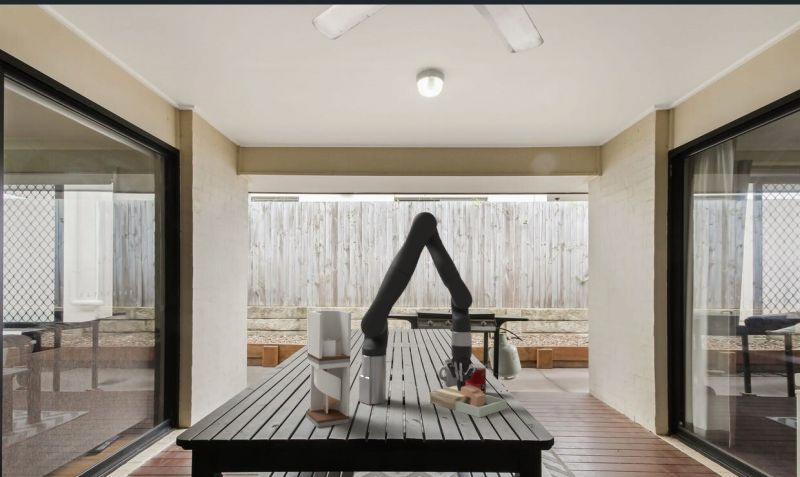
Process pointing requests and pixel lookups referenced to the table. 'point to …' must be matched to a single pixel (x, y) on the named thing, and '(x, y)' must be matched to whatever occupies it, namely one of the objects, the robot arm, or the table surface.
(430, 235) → the robot arm
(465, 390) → the tile back
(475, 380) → the canned food
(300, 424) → the table surface
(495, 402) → the tray
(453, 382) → the coffee mug
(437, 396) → the plate
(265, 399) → the table surface
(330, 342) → the display case
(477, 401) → the tile front
